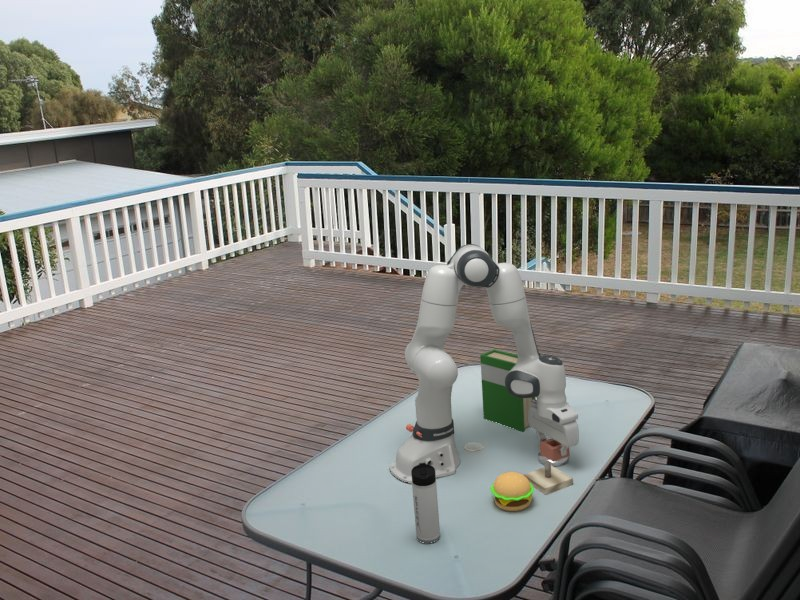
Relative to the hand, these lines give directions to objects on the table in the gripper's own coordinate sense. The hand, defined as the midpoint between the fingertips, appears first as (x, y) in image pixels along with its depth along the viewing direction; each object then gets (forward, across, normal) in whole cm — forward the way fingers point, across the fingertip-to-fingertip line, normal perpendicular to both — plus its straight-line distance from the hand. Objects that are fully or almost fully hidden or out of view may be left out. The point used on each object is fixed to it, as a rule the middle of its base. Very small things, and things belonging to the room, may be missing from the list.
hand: (552, 449), depth 229 cm
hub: (+4, 0, 0) cm, 4 cm away
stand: (+4, +10, -10) cm, 15 cm away
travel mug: (+4, +14, -53) cm, 55 cm away
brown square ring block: (+2, 0, +1) cm, 2 cm away
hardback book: (+4, -31, +6) cm, 32 cm away
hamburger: (+4, +13, -25) cm, 28 cm away
